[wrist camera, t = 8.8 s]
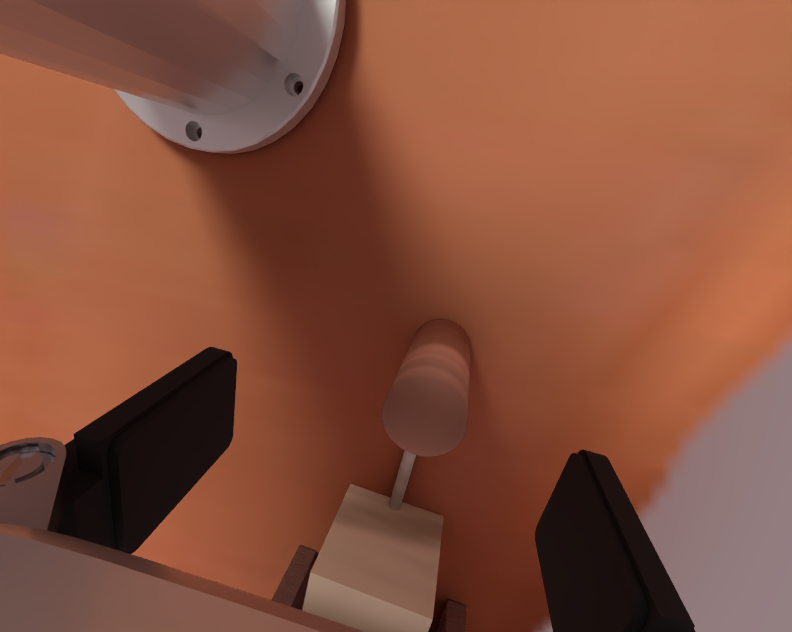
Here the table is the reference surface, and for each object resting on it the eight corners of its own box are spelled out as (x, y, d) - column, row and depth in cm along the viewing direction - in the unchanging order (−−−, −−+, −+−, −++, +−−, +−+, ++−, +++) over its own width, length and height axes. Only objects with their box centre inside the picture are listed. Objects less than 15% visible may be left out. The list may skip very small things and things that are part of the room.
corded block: (393, 304, 20) (350, 356, 13) (507, 337, 19) (524, 410, 12) (333, 552, 25) (284, 674, 19) (419, 584, 25) (398, 723, 18)
